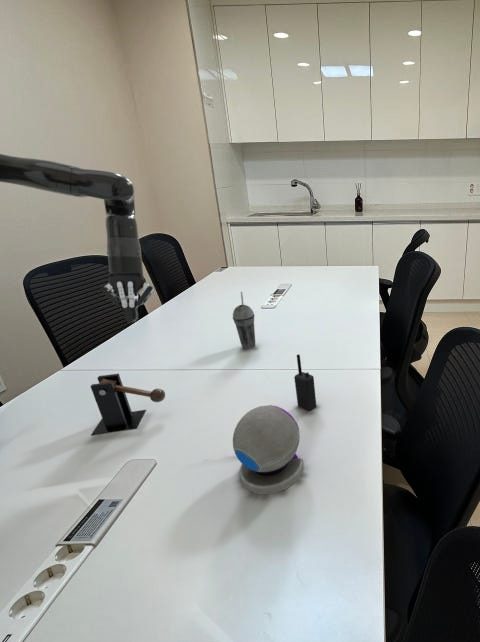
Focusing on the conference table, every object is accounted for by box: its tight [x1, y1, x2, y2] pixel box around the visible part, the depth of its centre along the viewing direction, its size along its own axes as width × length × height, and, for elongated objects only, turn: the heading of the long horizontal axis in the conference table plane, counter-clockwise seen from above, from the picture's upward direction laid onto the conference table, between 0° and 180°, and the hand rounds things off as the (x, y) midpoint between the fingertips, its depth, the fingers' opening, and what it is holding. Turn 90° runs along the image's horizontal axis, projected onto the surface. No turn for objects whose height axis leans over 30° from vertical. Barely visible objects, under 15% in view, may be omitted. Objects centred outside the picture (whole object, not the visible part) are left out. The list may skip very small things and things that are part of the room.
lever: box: [100, 379, 166, 403], centre depth 94 cm, size 14×3×3 cm, turn 104°
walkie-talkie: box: [294, 354, 317, 412], centre depth 100 cm, size 5×3×15 cm
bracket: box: [90, 373, 147, 436], centre depth 94 cm, size 10×8×13 cm
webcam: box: [232, 404, 305, 495], centre depth 78 cm, size 13×13×15 cm
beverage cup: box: [232, 291, 256, 350], centre depth 134 cm, size 7×7×20 cm
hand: (131, 321), depth 104 cm, fingers closed
